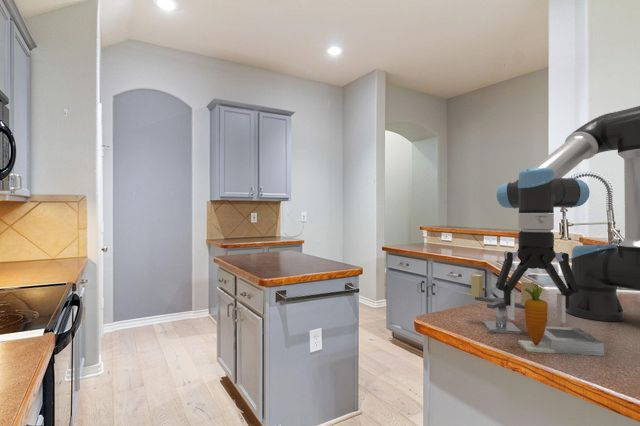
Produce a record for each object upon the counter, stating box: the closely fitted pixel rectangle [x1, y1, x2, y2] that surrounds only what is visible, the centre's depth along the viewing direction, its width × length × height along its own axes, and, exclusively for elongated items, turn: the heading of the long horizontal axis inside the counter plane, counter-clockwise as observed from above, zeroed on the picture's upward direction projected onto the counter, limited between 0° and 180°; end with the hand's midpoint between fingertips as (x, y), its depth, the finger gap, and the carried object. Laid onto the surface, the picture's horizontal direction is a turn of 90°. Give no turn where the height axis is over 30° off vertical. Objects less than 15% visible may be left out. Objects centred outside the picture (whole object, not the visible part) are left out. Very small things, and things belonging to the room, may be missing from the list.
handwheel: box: [470, 273, 535, 310], centre depth 102 cm, size 16×14×8 cm
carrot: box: [524, 283, 548, 345], centre depth 87 cm, size 5×5×15 cm
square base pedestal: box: [482, 306, 522, 335], centre depth 102 cm, size 8×8×7 cm
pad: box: [517, 339, 556, 354], centre depth 87 cm, size 6×6×1 cm
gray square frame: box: [540, 325, 605, 357], centre depth 89 cm, size 11×11×3 cm
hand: (535, 319), depth 87 cm, fingers open, 10 cm apart
